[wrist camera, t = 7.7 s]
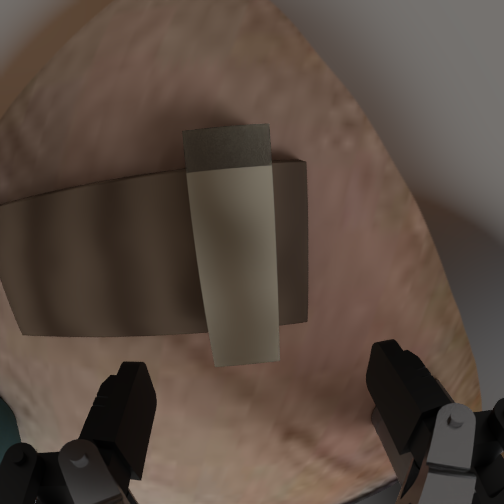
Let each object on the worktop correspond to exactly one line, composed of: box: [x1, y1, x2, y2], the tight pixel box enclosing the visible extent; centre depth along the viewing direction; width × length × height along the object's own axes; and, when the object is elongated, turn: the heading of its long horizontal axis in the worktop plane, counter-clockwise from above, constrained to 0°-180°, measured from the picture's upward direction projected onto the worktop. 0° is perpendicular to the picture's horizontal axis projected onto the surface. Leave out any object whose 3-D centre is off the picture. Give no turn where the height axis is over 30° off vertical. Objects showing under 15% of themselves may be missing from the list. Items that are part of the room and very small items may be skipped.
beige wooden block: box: [182, 124, 280, 367], centre depth 19 cm, size 4×14×6 cm, turn 4°
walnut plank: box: [0, 160, 308, 337], centre depth 21 cm, size 26×12×2 cm, turn 94°
